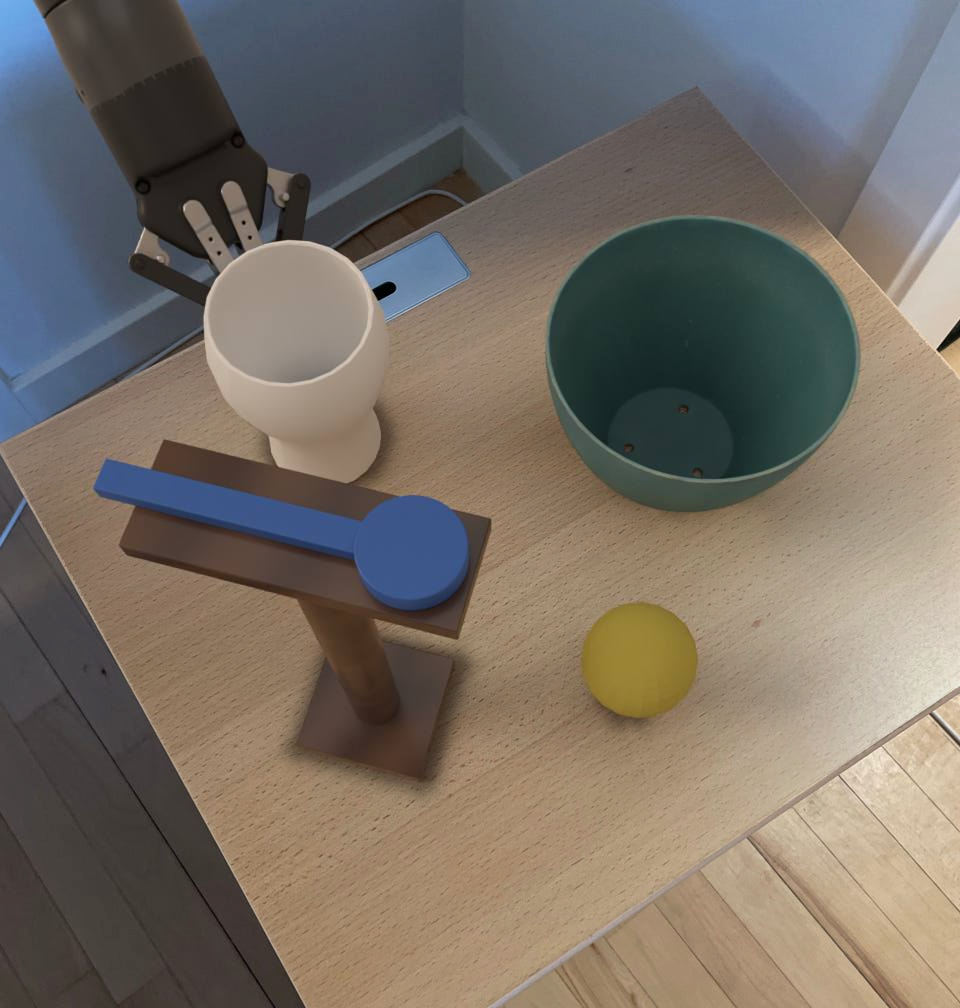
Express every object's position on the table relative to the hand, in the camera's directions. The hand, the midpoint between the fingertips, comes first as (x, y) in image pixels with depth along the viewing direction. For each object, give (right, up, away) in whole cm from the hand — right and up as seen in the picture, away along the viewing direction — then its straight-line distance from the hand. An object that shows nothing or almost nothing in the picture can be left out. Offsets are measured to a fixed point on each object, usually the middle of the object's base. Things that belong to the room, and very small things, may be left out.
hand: (286, 353), depth 67 cm
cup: (+2, -5, +4) cm, 7 cm away
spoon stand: (+6, -23, -3) cm, 24 cm away
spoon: (+6, -15, -27) cm, 31 cm away
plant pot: (+26, -6, +3) cm, 27 cm away
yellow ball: (+22, -22, -2) cm, 32 cm away
